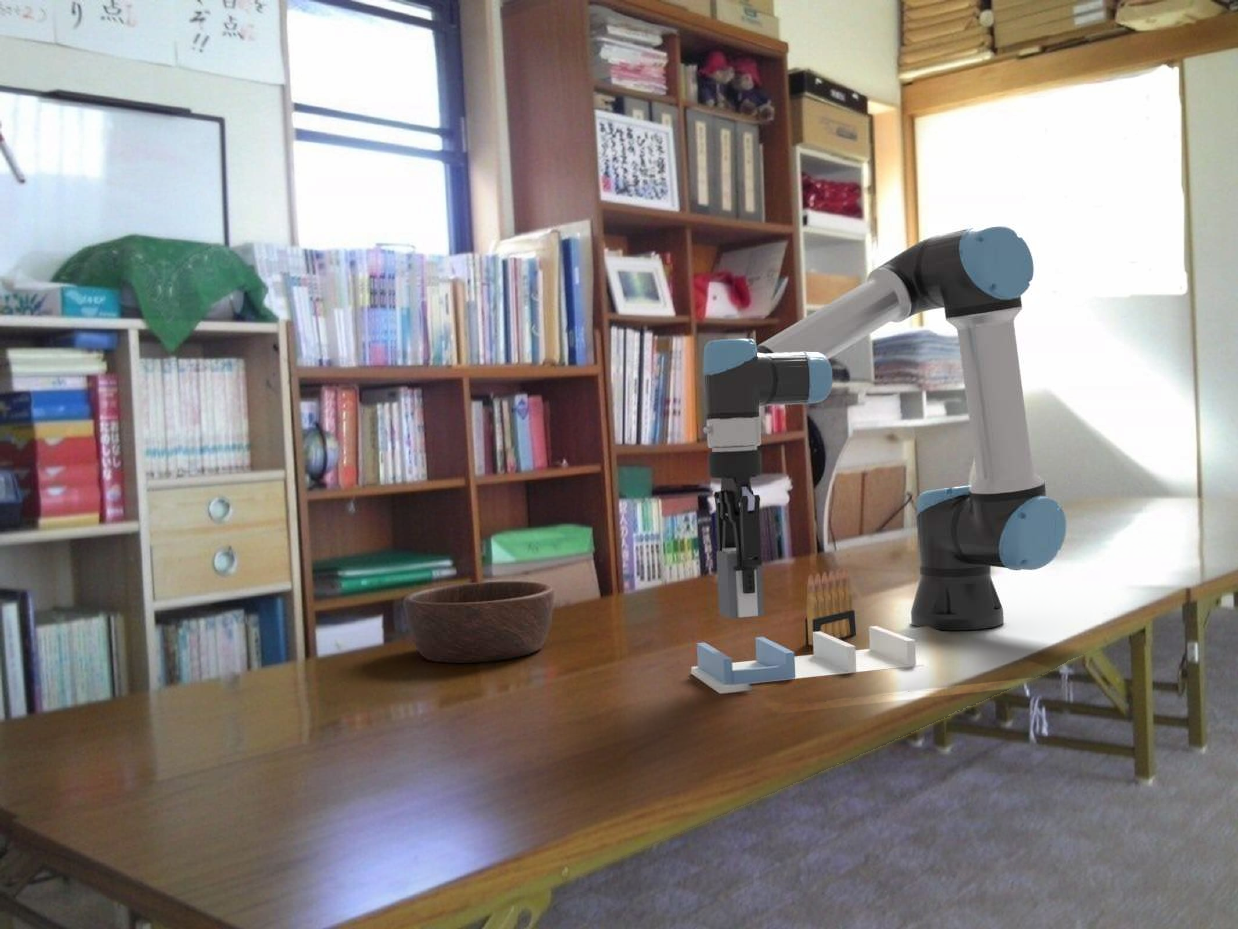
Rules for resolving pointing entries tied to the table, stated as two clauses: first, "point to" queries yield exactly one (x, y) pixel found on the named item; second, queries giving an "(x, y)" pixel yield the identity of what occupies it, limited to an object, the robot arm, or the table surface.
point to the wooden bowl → (480, 620)
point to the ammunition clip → (830, 606)
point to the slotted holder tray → (803, 660)
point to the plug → (733, 584)
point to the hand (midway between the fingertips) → (741, 612)
